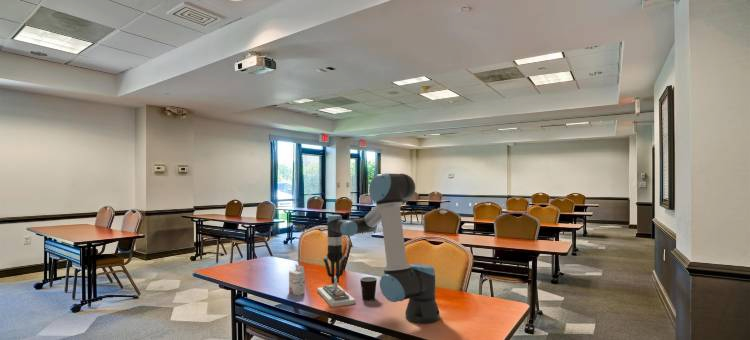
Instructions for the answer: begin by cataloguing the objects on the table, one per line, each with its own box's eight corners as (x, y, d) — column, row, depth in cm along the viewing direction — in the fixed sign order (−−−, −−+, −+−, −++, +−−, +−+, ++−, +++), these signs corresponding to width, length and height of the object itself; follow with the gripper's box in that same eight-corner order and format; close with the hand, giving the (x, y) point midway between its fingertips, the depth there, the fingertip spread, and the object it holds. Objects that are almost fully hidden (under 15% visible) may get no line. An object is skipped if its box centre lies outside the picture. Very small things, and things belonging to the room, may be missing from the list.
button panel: (355, 303, 189) (355, 296, 189) (331, 307, 185) (331, 300, 185) (338, 288, 215) (338, 282, 215) (317, 291, 210) (317, 285, 211)
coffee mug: (375, 301, 192) (374, 281, 192) (358, 300, 194) (358, 280, 194) (379, 294, 204) (379, 275, 204) (363, 293, 205) (363, 275, 206)
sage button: (336, 289, 206) (336, 286, 206) (327, 290, 204) (327, 287, 204) (334, 287, 211) (334, 284, 211) (325, 288, 209) (325, 285, 209)
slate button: (341, 293, 199) (341, 290, 199) (332, 295, 197) (332, 291, 197) (338, 291, 203) (338, 288, 203) (329, 292, 201) (329, 289, 201)
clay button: (346, 295, 191) (346, 292, 191) (336, 296, 189) (336, 293, 189) (343, 292, 196) (343, 289, 196) (333, 294, 194) (333, 290, 194)
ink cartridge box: (288, 292, 209) (288, 265, 209) (296, 290, 213) (295, 264, 213) (297, 295, 203) (297, 268, 204) (305, 293, 207) (305, 266, 207)
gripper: (344, 242, 207) (344, 286, 206) (320, 244, 201) (321, 289, 201) (348, 244, 200) (349, 289, 199) (324, 246, 195) (325, 292, 194)
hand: (335, 289), depth 200 cm, fingers closed
